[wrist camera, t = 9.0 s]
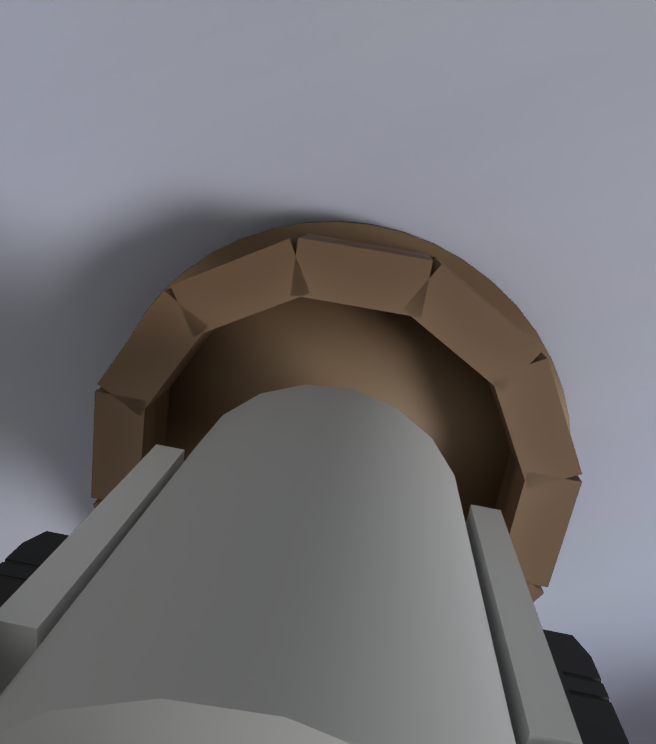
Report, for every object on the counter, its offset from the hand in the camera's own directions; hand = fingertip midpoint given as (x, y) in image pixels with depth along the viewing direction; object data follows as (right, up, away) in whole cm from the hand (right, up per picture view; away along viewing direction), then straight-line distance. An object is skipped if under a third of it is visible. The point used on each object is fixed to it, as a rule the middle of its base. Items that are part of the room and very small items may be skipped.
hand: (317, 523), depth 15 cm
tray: (0, +1, +5) cm, 5 cm away
